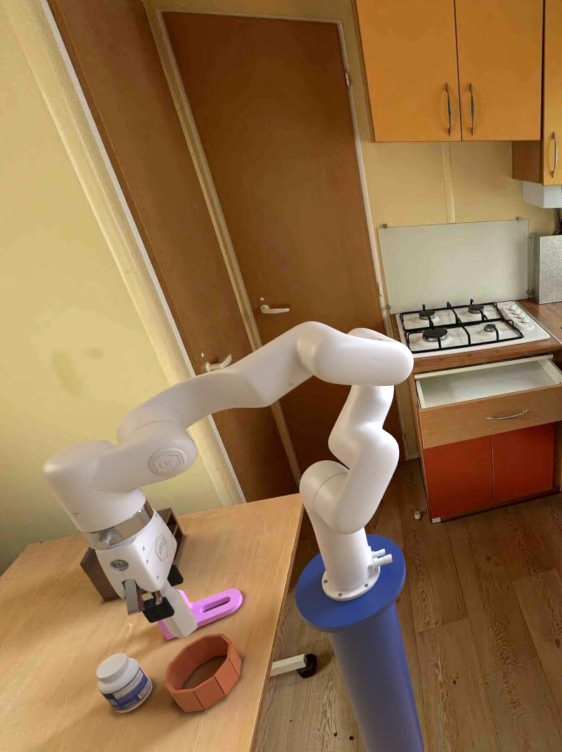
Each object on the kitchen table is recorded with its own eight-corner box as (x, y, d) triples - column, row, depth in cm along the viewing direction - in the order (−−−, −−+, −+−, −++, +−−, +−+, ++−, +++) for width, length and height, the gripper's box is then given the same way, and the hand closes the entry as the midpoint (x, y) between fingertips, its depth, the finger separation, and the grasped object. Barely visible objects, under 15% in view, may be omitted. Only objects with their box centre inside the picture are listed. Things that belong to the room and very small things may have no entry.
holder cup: (243, 643, 84) (234, 624, 81) (236, 697, 75) (226, 678, 72) (185, 664, 80) (173, 646, 77) (170, 723, 72) (157, 705, 69)
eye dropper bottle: (199, 605, 75) (173, 560, 69) (197, 633, 70) (169, 587, 65) (169, 618, 73) (140, 572, 67) (165, 647, 68) (133, 601, 63)
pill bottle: (111, 698, 75) (86, 667, 71) (148, 673, 79) (127, 642, 74) (118, 721, 72) (92, 690, 68) (156, 694, 76) (134, 663, 71)
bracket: (167, 640, 84) (154, 618, 81) (171, 616, 88) (158, 595, 85) (242, 609, 90) (232, 587, 87) (242, 588, 94) (233, 567, 91)
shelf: (185, 536, 107) (168, 501, 102) (171, 581, 96) (150, 544, 90) (127, 552, 103) (105, 516, 98) (104, 601, 92) (79, 564, 86)
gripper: (131, 558, 54) (183, 640, 63) (165, 475, 68) (205, 552, 77) (55, 580, 52) (121, 663, 60) (108, 489, 66) (155, 567, 74)
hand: (167, 600), depth 68 cm, fingers closed on eye dropper bottle, 5 cm apart
